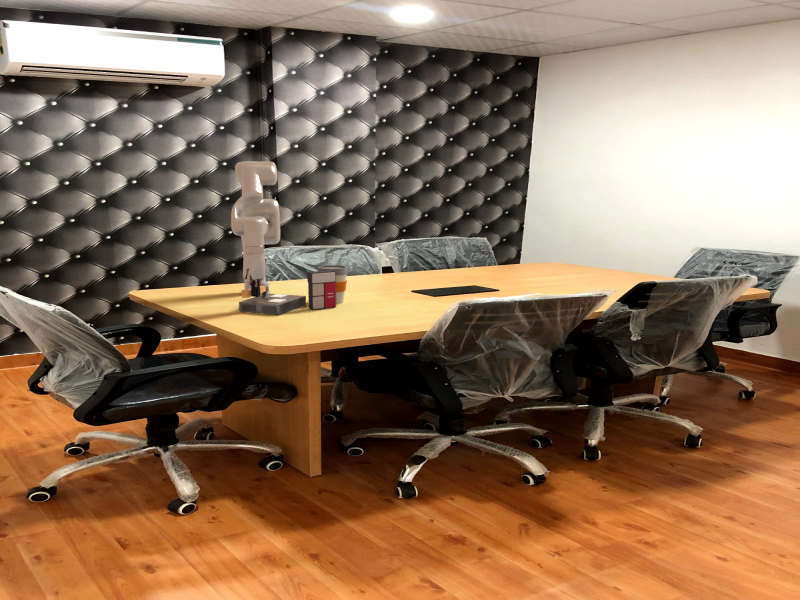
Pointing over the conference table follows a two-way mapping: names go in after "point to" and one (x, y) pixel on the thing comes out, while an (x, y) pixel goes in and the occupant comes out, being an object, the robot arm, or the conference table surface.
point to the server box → (272, 304)
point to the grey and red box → (321, 289)
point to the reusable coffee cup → (338, 280)
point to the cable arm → (263, 288)
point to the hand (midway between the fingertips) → (255, 296)
